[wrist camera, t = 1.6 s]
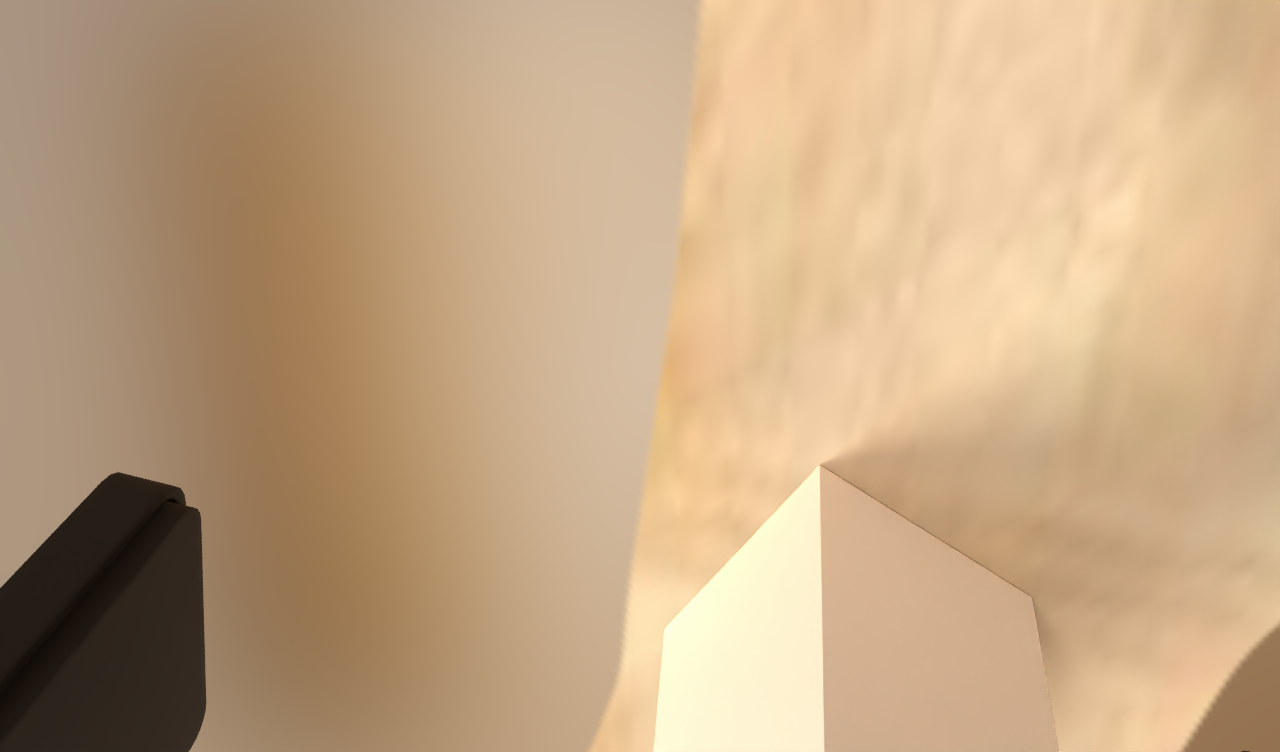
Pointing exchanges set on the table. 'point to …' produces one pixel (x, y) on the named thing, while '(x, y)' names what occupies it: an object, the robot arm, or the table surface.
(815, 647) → the milk
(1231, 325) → the table surface
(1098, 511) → the table surface
